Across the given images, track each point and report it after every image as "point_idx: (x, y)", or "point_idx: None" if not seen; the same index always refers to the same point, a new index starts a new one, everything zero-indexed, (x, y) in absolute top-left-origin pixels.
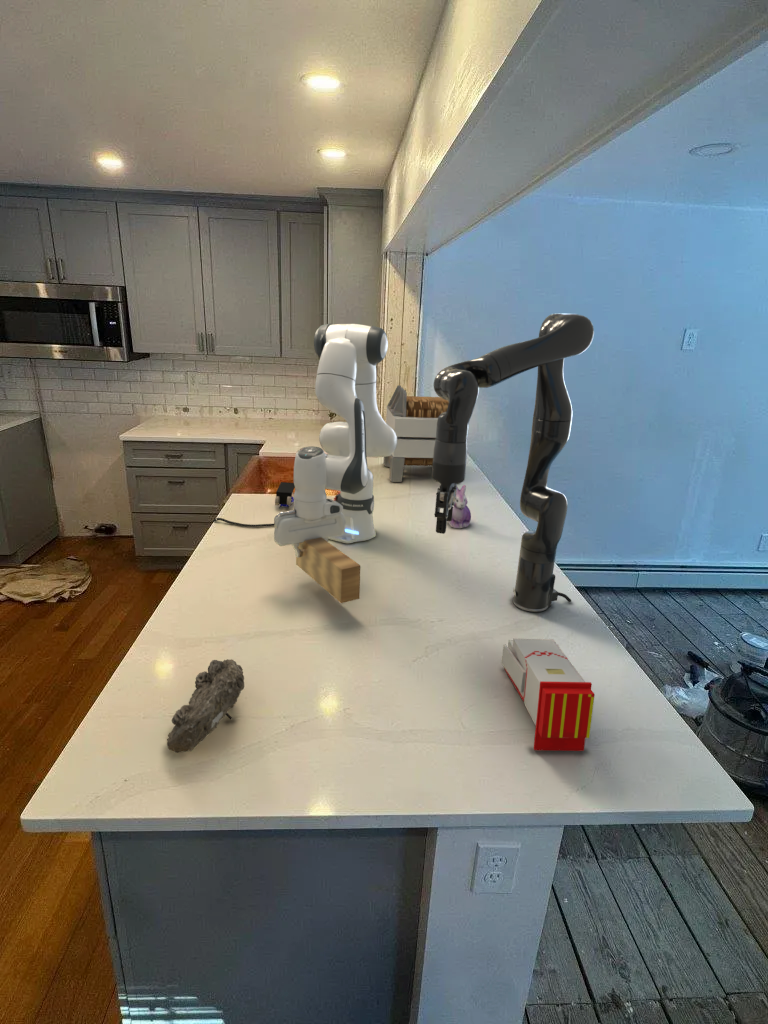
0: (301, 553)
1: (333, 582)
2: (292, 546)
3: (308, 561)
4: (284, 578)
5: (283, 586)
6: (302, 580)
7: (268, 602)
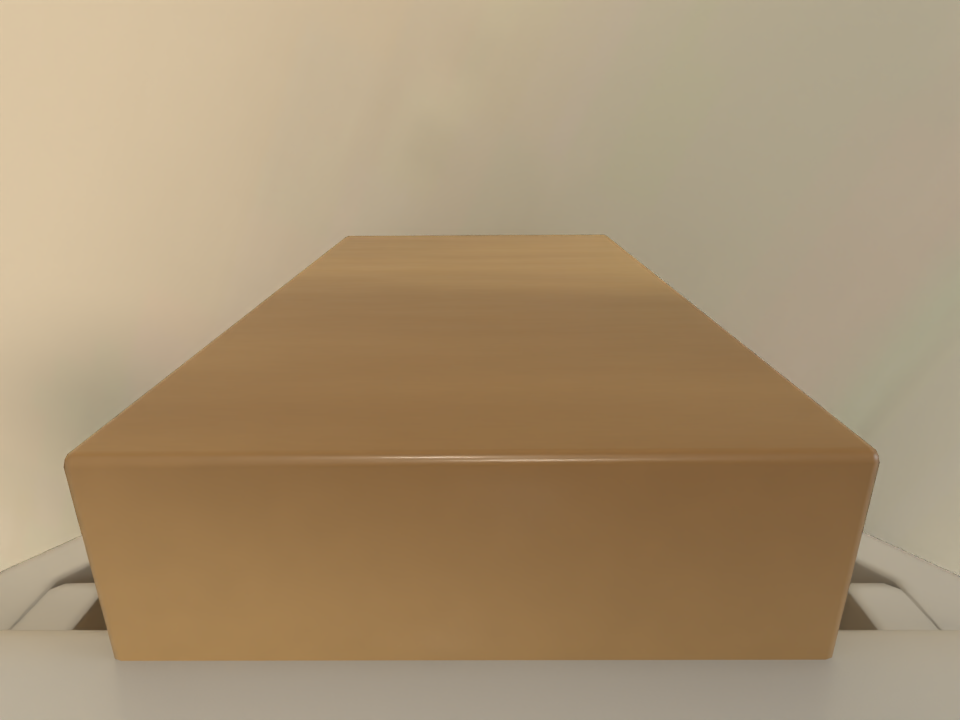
0: None
1: None
2: (49, 550)
3: None
4: (291, 86)
5: (231, 253)
6: (445, 223)
7: (43, 452)
